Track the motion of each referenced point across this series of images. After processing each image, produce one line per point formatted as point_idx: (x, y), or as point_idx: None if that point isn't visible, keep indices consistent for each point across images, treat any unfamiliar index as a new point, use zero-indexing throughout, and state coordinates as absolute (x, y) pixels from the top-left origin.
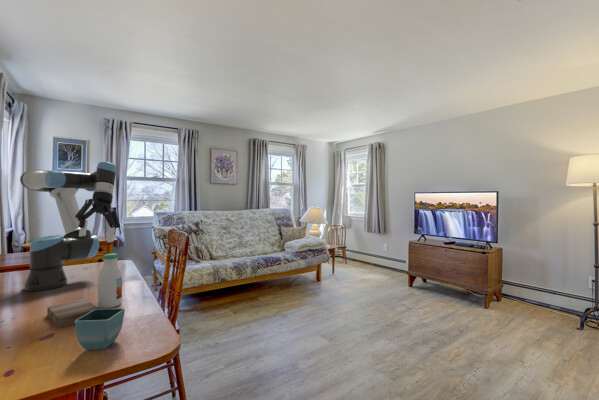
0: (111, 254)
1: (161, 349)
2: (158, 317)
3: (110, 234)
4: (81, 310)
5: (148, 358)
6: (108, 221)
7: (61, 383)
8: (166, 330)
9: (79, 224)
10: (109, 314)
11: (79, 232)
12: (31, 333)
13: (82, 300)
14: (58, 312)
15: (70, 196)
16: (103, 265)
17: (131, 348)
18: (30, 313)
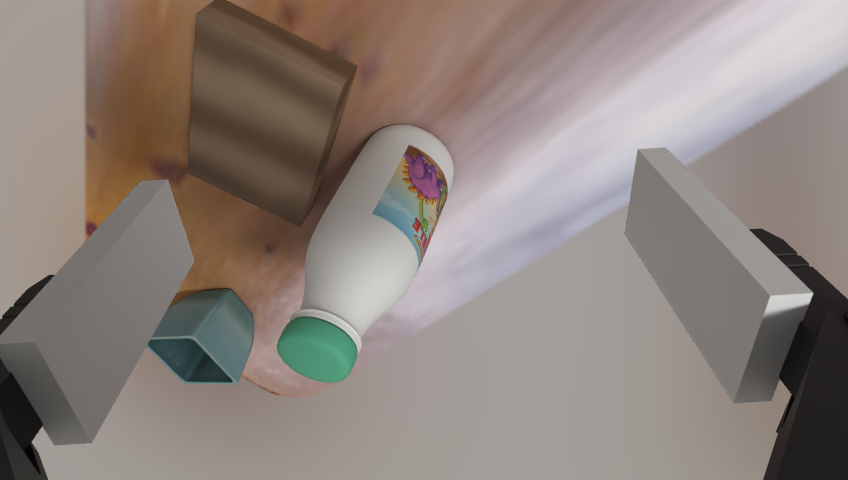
0: (307, 369)
1: (282, 385)
2: (388, 341)
3: (680, 260)
4: (258, 185)
5: (253, 378)
6: (776, 473)
7: None
8: None
9: (14, 318)
10: (221, 350)
11: (118, 213)
12: (143, 108)
13: (321, 97)
14: (203, 124)
15: None
16: (305, 290)
17: (256, 348)
18: None
